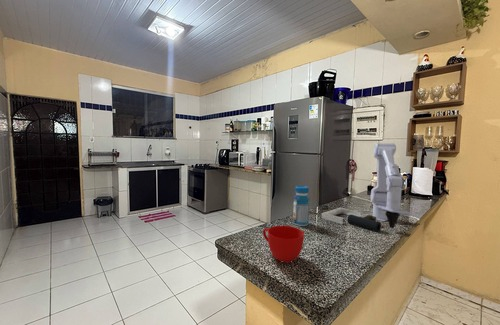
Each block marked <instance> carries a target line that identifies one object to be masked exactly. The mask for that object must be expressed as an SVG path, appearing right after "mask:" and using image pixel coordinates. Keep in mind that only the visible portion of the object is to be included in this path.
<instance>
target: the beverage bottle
mask: <svg viewBox="0 0 500 325" xmlns="http://www.w3.org/2000/svg"><path fill="white" fill-rule="evenodd" d="M309 188H310V187H309V186H305V185H297V186H295V193H296V194H295V195H294V197H293V205H292V206H293V216H292V217H293V218H292V223H293V224H294V225H295V226H298V227H299V226H300V227H306V226H308V225H309V223H310V220H309V219H310V217H309V216H310V204H311V203H310V196H309V195H308V194H309Z"/></svg>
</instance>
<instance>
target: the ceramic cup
mask: <svg viewBox="0 0 500 325" xmlns="http://www.w3.org/2000/svg"><path fill="white" fill-rule="evenodd" d="M266 231H267V233H266ZM262 236H263V237H264V240H266V242H267V244H268V247H269V250H270V252H271V255H273V257H274V258H275V259H276V260H277V259H278V260H280V261H283V262H291V261H293V260H294V261H295V260H296V259H297V258H299V256H300V254H301V252H302V250H303V245H304V238H305V234H304V231H303V230H302V229H300V228H298V227H295V226H291V225H289V226H288V225H274V226H272V227H270V228H269V227H265V228H263V231H262ZM278 260H277V261H278ZM294 261H293V262H294ZM291 263H292V262H291Z"/></svg>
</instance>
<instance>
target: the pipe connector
mask: <svg viewBox="0 0 500 325" xmlns="http://www.w3.org/2000/svg"><path fill="white" fill-rule="evenodd" d="M346 221H347V223H348V224H350V225H354V226H355V227H356V226H357V227H358V228H359V227H360V228H362V229H367V230H370V231H372V232H375V233H379V232H380V230H381V229H382V223H381V222H380V221H378V220H377V219H376V217H375V216H373V214H372V215H371V214H368V215H365V216H363V217H362V216H360V217H359V216H355V215H351V214H350V215H348V216H347V220H346Z"/></svg>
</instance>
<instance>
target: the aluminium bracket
mask: <svg viewBox="0 0 500 325" xmlns="http://www.w3.org/2000/svg"><path fill="white" fill-rule="evenodd" d="M340 214H344V215H348V216H349V215H350V214H351V215H355V216H359V217H362V214H361V211H358V210H353V209H349V208H345V207H337V208H334V209H330V210H327V211H324V212H321V219H324V220H326V221H329V222H334V223H335V224H340V225H344V224H345V218H344V217H341V216H337V215H340Z"/></svg>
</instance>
